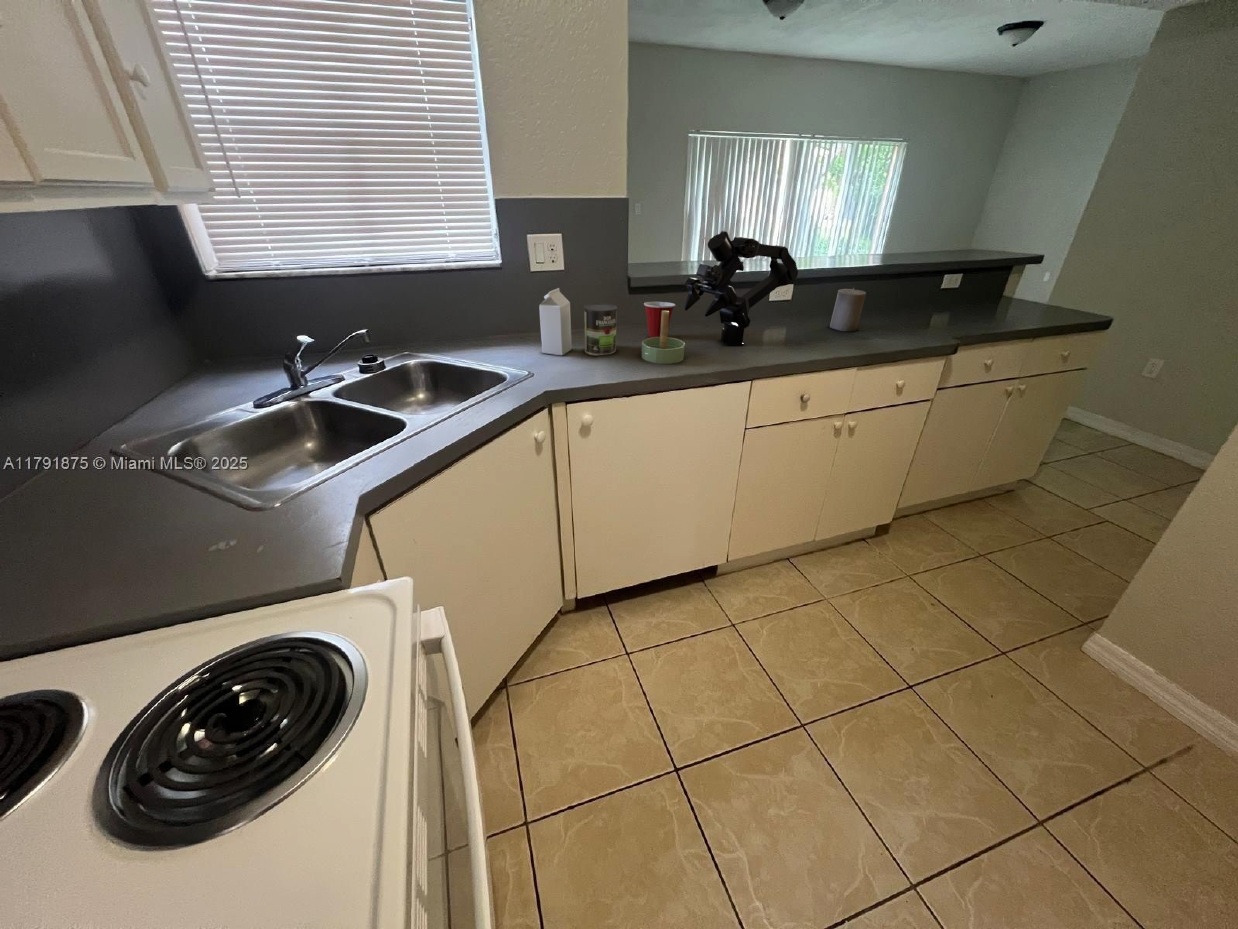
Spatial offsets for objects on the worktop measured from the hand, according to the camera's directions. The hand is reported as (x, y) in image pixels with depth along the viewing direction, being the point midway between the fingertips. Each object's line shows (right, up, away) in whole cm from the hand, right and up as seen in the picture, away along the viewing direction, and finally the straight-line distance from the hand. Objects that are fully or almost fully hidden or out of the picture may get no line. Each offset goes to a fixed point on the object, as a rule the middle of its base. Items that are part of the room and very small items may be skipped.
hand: (695, 312), depth 151 cm
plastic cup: (-10, -3, +20) cm, 23 cm away
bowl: (-10, -14, 0) cm, 18 cm away
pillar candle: (+63, +5, +36) cm, 72 cm away
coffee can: (-30, -11, +6) cm, 32 cm away
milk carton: (-44, -11, +5) cm, 45 cm away
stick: (-10, -14, 0) cm, 17 cm away
